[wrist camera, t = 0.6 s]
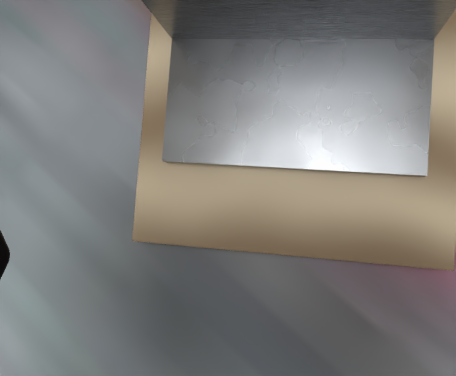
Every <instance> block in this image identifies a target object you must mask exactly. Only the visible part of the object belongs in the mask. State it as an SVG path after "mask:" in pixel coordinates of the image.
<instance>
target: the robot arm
mask: <svg viewBox="0 0 456 376" xmlns="http://www.w3.org/2000/svg"><path fill="white" fill-rule="evenodd" d="M9 258H10V252H9V248H8V246H7V244H6V241H5V239H4V237H3V235H2V233H1V231H0V279H1V277H2V275H3V273H4V270H5V268H6V266H7V264H8V262H9Z"/></svg>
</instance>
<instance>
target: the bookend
mask: <svg viewBox="0 0 456 376" xmlns="http://www.w3.org/2000/svg"><path fill="white" fill-rule="evenodd" d="M142 1H143V3H144V4H145V5H146V6H147V8H148V9H149V10H150V12H151V13H152V14H153V15H154V17H155V18H156V19H157V21H158V22H159V23H160V24H161V26H162V27H163V28H164V30H165V31H166V32H167V33H168V35H169V36H170V37H171V38H172V44H171V56H170V68H169V81H168V93H167V105H166V117H165V129H164V141H163V154H162V161H163V162H167V163H185V164H202V165H220V166H238V167H256V168H274V169H292V170H310V171H328V172H346V173H363V174H381V175H399V176H417V177H425V176H427V170H428V151H429V132H430V113H431V94H432V75H433V56H434V39H435V38H436V36H437V35H438V33H439V32H440V31H441V29H442V28H443V26H444V25H445V24H446V22H447V21H448V19H449V18H450V16H451V15H452V14H453V12H454V11H455V9H456V0H142Z"/></svg>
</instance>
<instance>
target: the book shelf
mask: <svg viewBox="0 0 456 376" xmlns="http://www.w3.org/2000/svg"><path fill="white" fill-rule="evenodd" d="M171 44H172V38H171V37H170V36H169V35H168V33H167V32H166V31H165V30H164V28H163V27H162V26H161V24H160V23H159V22H158V21H157V19H156V18H155V17H154V15H153V14H151V26H150V38H149V49H148V61H147V73H146V85H145V97H144V108H143V120H142V132H141V144H140V156H139V167H138V179H137V191H136V203H135V215H134V227H133V238H132V241H138V242H149V243H159V244H170V245H181V246H192V247H203V248H213V249H224V250H235V251H246V252H257V253H268V254H278V255H289V256H300V257H311V258H322V259H332V260H343V261H354V262H365V263H376V264H387V265H397V266H408V267H419V268H430V269H441V270H451V271H454V264H455V244H456V9H455V11H454V12H453V14H452V15H451V16H450V18H449V19H448V21H447V22H446V24H445V25H444V26H443V28H442V29H441V31H440V32H439V33H438V35H437V36H436V38H435V39H434V56H433V75H432V94H431V113H430V132H429V151H428V170H427V176H425V177H417V176H399V175H381V174H363V173H346V172H328V171H310V170H292V169H274V168H256V167H238V166H220V165H202V164H185V163H167V162H163V161H162V154H163V141H164V129H165V117H166V105H167V93H168V81H169V68H170V56H171Z"/></svg>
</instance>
